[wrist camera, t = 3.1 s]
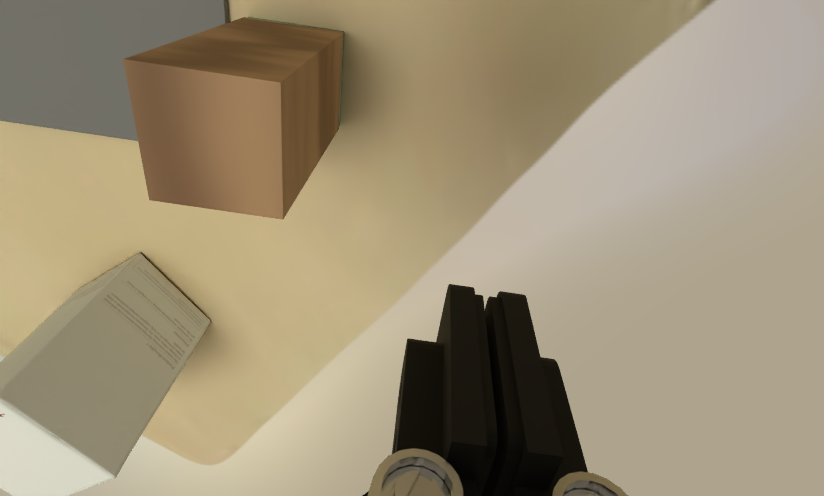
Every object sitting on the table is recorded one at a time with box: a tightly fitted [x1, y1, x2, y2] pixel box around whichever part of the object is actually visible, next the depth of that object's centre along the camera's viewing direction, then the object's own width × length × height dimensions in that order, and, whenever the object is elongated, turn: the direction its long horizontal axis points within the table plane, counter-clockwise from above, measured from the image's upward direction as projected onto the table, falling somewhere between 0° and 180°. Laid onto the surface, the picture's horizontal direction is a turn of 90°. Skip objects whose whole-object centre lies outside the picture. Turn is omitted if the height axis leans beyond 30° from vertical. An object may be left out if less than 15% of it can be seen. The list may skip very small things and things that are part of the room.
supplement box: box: [0, 253, 211, 496], centre depth 30 cm, size 7×7×13 cm
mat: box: [0, 0, 229, 141], centre depth 25 cm, size 14×10×1 cm
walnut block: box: [123, 17, 344, 219], centre depth 21 cm, size 5×5×11 cm
